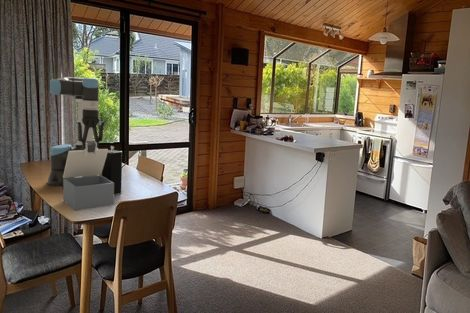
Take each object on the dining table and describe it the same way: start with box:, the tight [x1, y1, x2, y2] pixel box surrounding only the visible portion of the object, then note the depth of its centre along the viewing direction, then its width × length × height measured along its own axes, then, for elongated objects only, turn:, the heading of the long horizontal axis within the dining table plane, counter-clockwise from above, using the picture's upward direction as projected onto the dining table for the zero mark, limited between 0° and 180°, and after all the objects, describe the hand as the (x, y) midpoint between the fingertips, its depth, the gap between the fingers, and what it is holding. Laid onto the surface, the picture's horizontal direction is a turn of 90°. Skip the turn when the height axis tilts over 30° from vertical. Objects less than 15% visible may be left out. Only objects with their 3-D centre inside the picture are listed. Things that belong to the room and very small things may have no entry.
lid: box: [63, 140, 109, 178], centre depth 196 cm, size 24×20×3 cm
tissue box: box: [101, 145, 123, 196], centre depth 214 cm, size 8×8×28 cm
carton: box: [62, 174, 115, 211], centre depth 196 cm, size 18×20×12 cm
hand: (90, 154), depth 191 cm, fingers closed on lid, 4 cm apart
